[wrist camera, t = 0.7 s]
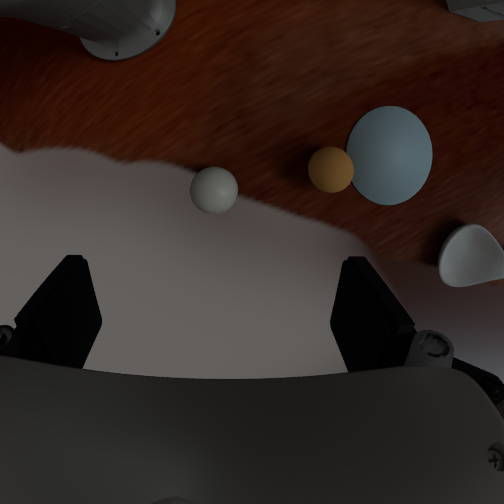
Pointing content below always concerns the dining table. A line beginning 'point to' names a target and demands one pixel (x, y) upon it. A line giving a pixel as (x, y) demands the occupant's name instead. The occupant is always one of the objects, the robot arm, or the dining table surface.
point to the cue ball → (213, 190)
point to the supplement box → (478, 9)
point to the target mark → (389, 155)
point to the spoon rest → (470, 257)
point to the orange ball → (330, 169)
